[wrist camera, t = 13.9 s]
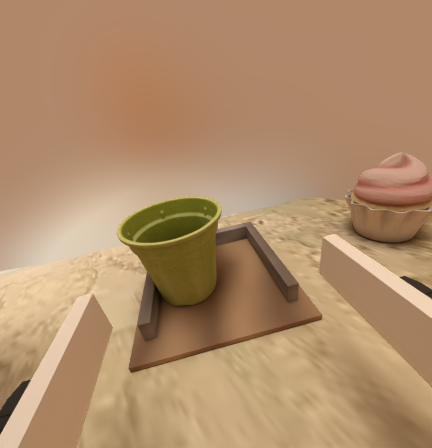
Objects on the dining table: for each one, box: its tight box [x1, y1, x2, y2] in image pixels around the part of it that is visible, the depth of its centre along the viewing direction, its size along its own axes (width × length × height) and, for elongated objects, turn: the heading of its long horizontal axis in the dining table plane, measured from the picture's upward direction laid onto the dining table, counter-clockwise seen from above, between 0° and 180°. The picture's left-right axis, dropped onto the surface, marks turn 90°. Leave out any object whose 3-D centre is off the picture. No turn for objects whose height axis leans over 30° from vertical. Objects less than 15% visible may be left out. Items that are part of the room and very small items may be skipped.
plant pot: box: [117, 197, 221, 306], centre depth 21 cm, size 9×9×9 cm
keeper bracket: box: [129, 222, 322, 372], centre depth 23 cm, size 16×16×2 cm
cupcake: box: [345, 152, 432, 242], centre depth 25 cm, size 9×9×10 cm
